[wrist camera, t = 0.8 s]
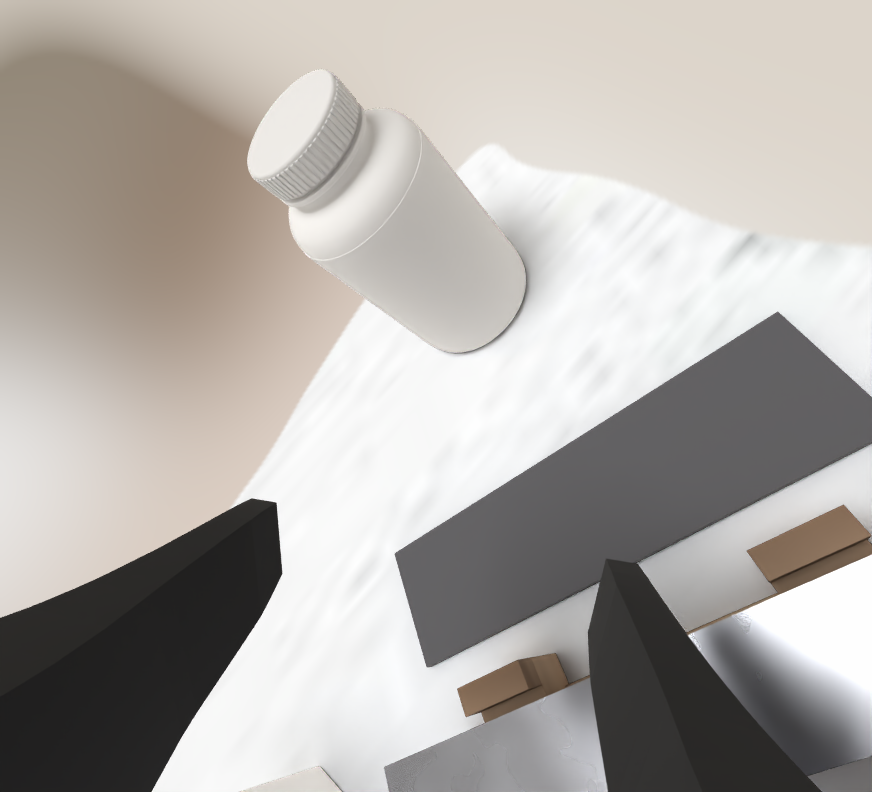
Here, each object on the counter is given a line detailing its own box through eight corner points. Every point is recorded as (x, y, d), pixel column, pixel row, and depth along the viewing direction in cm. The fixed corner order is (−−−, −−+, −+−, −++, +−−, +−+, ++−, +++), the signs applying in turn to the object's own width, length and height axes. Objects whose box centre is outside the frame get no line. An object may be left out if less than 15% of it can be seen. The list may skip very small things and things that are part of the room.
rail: (1113, 645, 12) (1202, 655, 9) (468, 855, 18) (411, 896, 16) (975, 514, 14) (1014, 492, 11) (438, 746, 20) (384, 767, 18)
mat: (900, 428, 17) (902, 425, 17) (431, 666, 24) (426, 667, 24) (778, 316, 21) (777, 311, 20) (399, 554, 28) (394, 553, 28)
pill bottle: (557, 276, 28) (388, 51, 17) (465, 380, 29) (251, 238, 18) (480, 226, 33) (310, 27, 22) (405, 316, 34) (208, 175, 23)
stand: (1043, 726, 13) (1104, 756, 11) (556, 867, 19) (512, 913, 16) (852, 514, 17) (861, 496, 14) (492, 682, 22) (447, 693, 20)
